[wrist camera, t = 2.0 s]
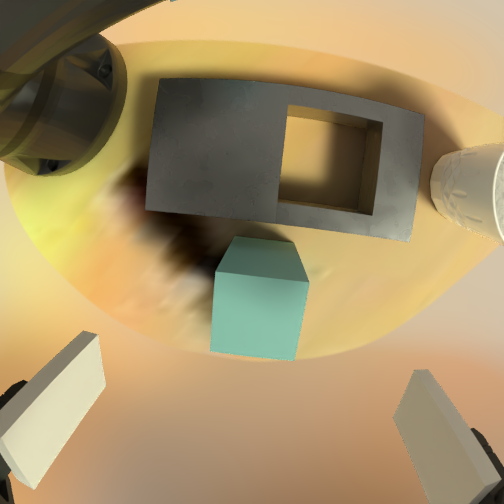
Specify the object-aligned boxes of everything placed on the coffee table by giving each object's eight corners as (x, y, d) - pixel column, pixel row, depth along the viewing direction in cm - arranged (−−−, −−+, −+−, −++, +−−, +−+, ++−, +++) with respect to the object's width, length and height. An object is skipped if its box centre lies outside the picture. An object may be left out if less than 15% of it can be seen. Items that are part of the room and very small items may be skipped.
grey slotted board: (162, 204, 26) (145, 210, 22) (174, 91, 23) (159, 78, 19) (390, 232, 25) (409, 242, 21) (403, 122, 23) (424, 115, 19)
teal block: (229, 291, 27) (210, 351, 18) (234, 235, 26) (215, 271, 16) (285, 297, 27) (294, 360, 17) (293, 242, 26) (309, 282, 16)
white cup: (435, 131, 23) (503, 118, 13) (491, 166, 23) (560, 170, 13) (413, 211, 25) (479, 231, 15) (472, 238, 25) (538, 265, 15)
